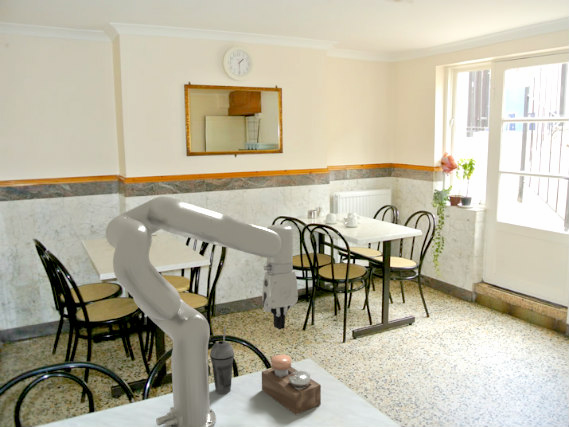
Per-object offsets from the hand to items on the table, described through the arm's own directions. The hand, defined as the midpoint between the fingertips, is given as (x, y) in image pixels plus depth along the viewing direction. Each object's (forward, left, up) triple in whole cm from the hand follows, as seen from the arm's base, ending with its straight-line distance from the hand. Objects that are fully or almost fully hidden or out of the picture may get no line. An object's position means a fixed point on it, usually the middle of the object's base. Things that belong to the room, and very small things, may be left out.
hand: (279, 327), depth 146 cm
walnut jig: (0, -5, -20) cm, 21 cm away
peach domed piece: (0, 0, -17) cm, 18 cm away
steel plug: (0, -9, -19) cm, 21 cm away
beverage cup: (-14, +11, -21) cm, 27 cm away
